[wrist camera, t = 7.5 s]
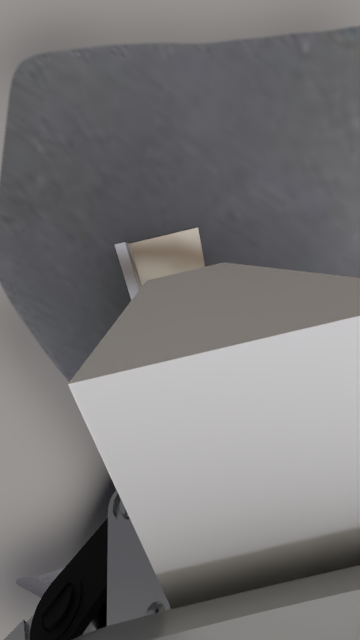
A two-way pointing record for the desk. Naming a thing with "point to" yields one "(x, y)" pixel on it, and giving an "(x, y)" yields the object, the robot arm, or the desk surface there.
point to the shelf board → (159, 257)
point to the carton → (233, 425)
